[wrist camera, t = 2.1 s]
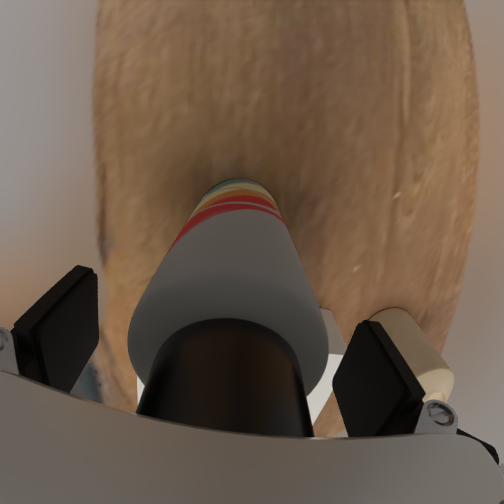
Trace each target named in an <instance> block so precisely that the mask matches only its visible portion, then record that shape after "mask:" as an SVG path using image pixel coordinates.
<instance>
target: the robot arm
mask: <svg viewBox="0 0 504 504" xmlns="http://www.w3.org/2000/svg"><path fill="white" fill-rule="evenodd" d="M97 280H98V278H97V274H95V273H94V272H93V269H92V268H88V267H84V266H80V265H77V266H75V267H74V268H73V269H72V270H71V271H70V272H68V273H67V274H66V275H65V276H64V277H63V278H62V279H61V280H59V281H58V282H57V283H56V284H55V285H54V286H53V287H52V288H51V289H50V290H49V291H47V293H45V294H44V295H43V296H42V297H41V298H40V299H39V300H38V301H37V302H36V303H35V304H34V305H33V306H32V307H31V308H30V309H28V310H27V312H26V313H24V314H23V315H22V316H21V317H20V318H19V319H18V320H17V321H16V322H15V323H14V328H13V329H12V330H11V331H10V332H9V331H8V330H7V329H5V328H3V327H0V504H504V464H501V465H500V466H498V464H499V458H498V454H497V452H496V450H495V448H494V447H493V446H491V445H489V444H487V443H485V442H483V441H481V440H479V439H477V438H475V437H473V436H471V435H470V434H468V433H466V432H464V431H462V430H460V429H458V428H457V425H458V417H457V415H456V413H455V411H454V410H453V408H451V407H450V406H449V405H448V404H446V403H444V402H442V401H440V400H434V399H433V400H428V401H426V402H425V403H424V402H423V400H422V399H423V398H424V396H425V395H426V392H425V391H424V389H423V387H422V386H421V384H420V383H419V381H418V379H417V378H416V376H415V375H414V373H413V372H412V370H411V368H410V367H409V365H408V364H407V362H406V361H405V359H404V358H403V356H402V355H401V353H400V352H399V350H398V349H397V347H396V346H395V344H394V343H393V341H392V340H391V338H390V337H389V335H388V334H387V332H386V331H385V329H384V328H383V326H382V325H381V323H380V322H377V321H370V320H364V321H363V322H362V323H359V324H358V325H357V327H356V329H355V331H354V334H353V336H352V338H351V340H350V343H349V345H348V347H347V349H346V351H345V354H344V356H343V358H342V360H341V362H340V364H339V366H338V368H337V370H336V372H335V374H334V376H333V379H332V388H333V391H334V394H335V397H336V400H337V403H338V406H339V409H340V412H341V415H342V418H343V421H344V424H345V427H346V430H347V433H348V437H343V438H342V437H341V438H319V437H290V436H273V435H261V434H250V433H241V432H232V431H225V430H217V429H211V428H204V427H198V426H192V425H187V424H182V423H176V422H171V421H167V420H162V419H157V418H153V417H149V416H144V415H140V414H136V413H132V412H129V411H125V410H121V409H117V408H114V407H111V406H107V405H104V404H101V403H97V402H94V401H91V400H88V399H85V398H82V397H79V396H76V395H73V394H70V391H71V390H72V388H73V386H74V384H75V382H76V381H77V379H78V377H79V375H80V374H81V372H82V370H83V369H84V367H85V365H86V363H87V362H88V360H89V358H90V357H91V355H92V353H93V352H94V350H95V348H96V347H97V345H98V341H99V325H98V281H97Z"/></svg>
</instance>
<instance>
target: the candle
mask: <svg viewBox="0 0 504 504" xmlns="http://www.w3.org/2000/svg"><path fill="white" fill-rule="evenodd" d="M369 320H370V321H377V322H380V323H381V325H382V326H383V328H384V329H385V331H386V332H387V334H388V335H389V337H390V338H391V340H392V341H393V343H394V344H395V346H396V347H397V349H398V350H399V352H400V353H401V355H402V356H403V358H404V359H405V361H406V362H407V364H408V365H409V367H410V368H411V370H412V372H413V373H414V375H415V376H416V378H417V379H418V381H419V383H420V384H421V386H422V387H423V389H424V391H425V392H426V395H425V396H424V398H423V399H422V400H423V402H424V403H425V402H426V401H428V400H433V399H434V400H440V401H442V402H444V403H447V400H448V398H449V395H450V393H451V390H452V387H453V384H454V374H453V372H452V371H451V369H450V368H449V366H448V365H447V364H446V362H445V361H444V359H443V358H442V357H441V355H440V354H439V353H438V351H437V350H436V349H435V347H434V346H433V344H432V343H431V342H430V340H429V339H428V338H427V336H426V335H425V334H424V333H423V331H422V330H421V329H420V327H419V326H418V325H417V323H416V322H415V321H414V320H413V318H412V317H411V316H410V315H409V314H408V313H407V312H406V311H404V310H402V309H399V308H389V309H385V310H382V311H380V312H378V313H377V314H375V315H374V316H372V317H371V318H370V319H369Z"/></svg>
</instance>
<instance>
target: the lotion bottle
mask: <svg viewBox="0 0 504 504" xmlns="http://www.w3.org/2000/svg"><path fill="white" fill-rule="evenodd" d="M128 352H129V357H130V360H131V363H132V366H133V368H134V370H135V372H136V374H137V376H138V377H139V379H140V380H141V382H142V383H143V385H144V386H145V387H144V389H143V392H142V395H141V398H140V401H139V404H138V407H137V410H136V414H140V415H144V416H149V417H153V418H157V419H162V420H167V421H171V422H176V423H182V424H187V425H192V426H198V427H204V428H211V429H217V430H225V431H232V432H241V433H250V434H261V435H273V436H290V437H315V436H314V431H313V426H312V421H311V416H310V411H309V406H308V402H307V396H308V395H309V394H310V393H311V392H312V391H313V389H314V388H315V387H316V386H317V384H318V383H319V381H320V380H321V378H322V376H323V374H324V372H325V369H326V366H327V362H328V356H329V341H328V334H327V329H326V326H325V322H324V319H323V316H322V313H321V311H320V308H319V305H318V302H317V300H316V297H315V295H314V292H313V290H312V287H311V285H310V282H309V280H308V277H307V275H306V272H305V270H304V267H303V265H302V263H301V260H300V258H299V255H298V253H297V251H296V248H295V246H294V243H293V241H292V239H291V236H290V234H289V232H288V229H287V227H286V225H285V222H284V220H283V218H282V215H281V213H280V211H279V209H278V206H277V204H276V203H275V201H274V199H273V197H272V196H271V195H270V193H269V192H268V191H267V190H266V189H264V188H263V187H262V186H261V185H259V184H257V183H255V182H253V181H250V180H246V179H230V180H226V181H223V182H221V183H219V184H217V185H215V186H214V187H212V188H211V189H210V190H209V191H208V192H207V193H206V194H205V195H204V197H203V198H202V199H201V201H200V202H199V204H198V205H197V207H196V208H195V210H194V211H193V213H192V215H191V216H190V218H189V219H188V221H187V222H186V224H185V225H184V227H183V229H182V230H181V232H180V233H179V235H178V236H177V238H176V240H175V241H174V243H173V245H172V246H171V248H170V249H169V251H168V253H167V254H166V256H165V258H164V259H163V261H162V262H161V264H160V266H159V267H158V269H157V271H156V273H155V274H154V276H153V278H152V279H151V281H150V283H149V285H148V286H147V288H146V290H145V292H144V293H143V295H142V297H141V299H140V301H139V303H138V305H137V307H136V309H135V311H134V313H133V316H132V318H131V322H130V326H129V331H128Z"/></svg>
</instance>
